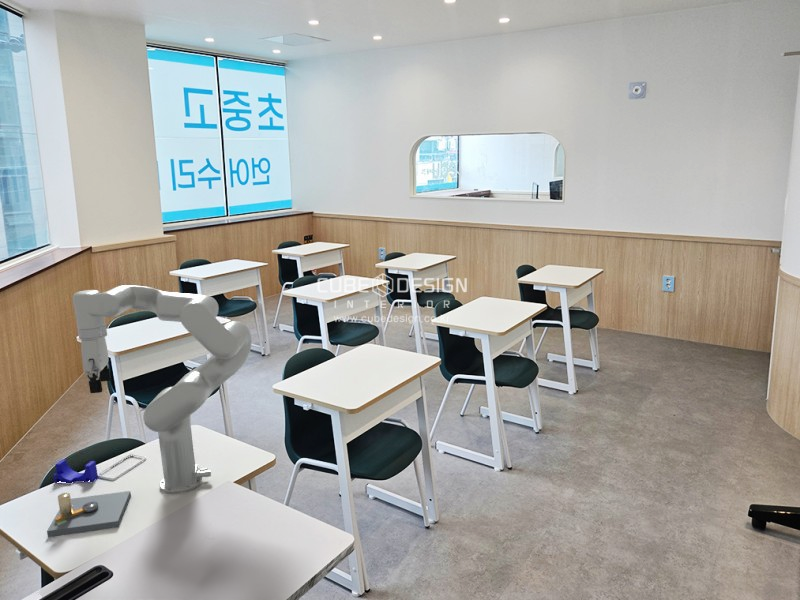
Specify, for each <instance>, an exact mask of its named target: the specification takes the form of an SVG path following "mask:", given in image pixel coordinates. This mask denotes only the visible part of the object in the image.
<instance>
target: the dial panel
mask: <svg viewBox="0 0 800 600" xmlns="http://www.w3.org/2000/svg"><path fill="white" fill-rule="evenodd" d="M131 498H132V493H131V490H127V491H119V492H112V493H111V492H110V493H103V494H98V495H88V496H81V497H74V498H71V504H72V509H73V511H76V510H78V509H81V508H82V507H83V505H85V504H86V503H89V502H97V503H98V509H97V510H96V511H94V512H92V513H84V512H83V513H80V514H77V515H74V516H72V517H69V518H66V519H63V520H61V521H58V522H56V521H55V518H56V517H59V516H61V513H60V509H59V510H58V512H57V513H56V515H55V517H54V518H53V519H52V521H51V524H50V525H49V527H48V528H47V530H46V534H47V538H55V537H61V536H68V535H69V536H70V535H75V534H83V533H89V532H95V531H96V532H97V531H105V530H111V529H117V528H120V526H121V523H122V520H123V519H124V516H125V514H126V511H127V508H128V505H129V503H130V500H131Z"/></svg>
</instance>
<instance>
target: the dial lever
mask: <svg viewBox="0 0 800 600" xmlns="http://www.w3.org/2000/svg"><path fill="white" fill-rule="evenodd" d="M71 499H72V498H71V493H70V492H63V493H61V494H59V495H58V496H57V502H58V506H59V508H58V509H59V510H60V513H61V516H59V517H56V518H55V517H54V518H55V521H56V522H58V521H61V520H63V519H66V518H69V517H72V516H74V515H77V514H80V513H83V512H84V513H92V512H94V511H96V510H97V509H98V503H97V502H89V503H86V504H85V505H83V507H82V508H81V509H78V510H76V511H73V509H72V504H71Z"/></svg>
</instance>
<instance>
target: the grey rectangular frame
mask: <svg viewBox="0 0 800 600" xmlns="http://www.w3.org/2000/svg"><path fill="white" fill-rule="evenodd" d="M131 455H132V456H133V455H134V456H135V457H141V458H142V459H141V460H139V461H137V462H135V464H132V465H131V466H130V467H128V468H127V469H125V470H123V471H122V472H120V473H119V474H117V475H115V476H114V477H111V476H106V475H102V473H104V472H106V471H107V470H109V469H113V468H114V467H115V466H114V465H116V464H118V463H119V462H121V461H122V460H124V459H126V458H127V459H129V458H130V457H129V456H131ZM128 457H129V458H128ZM146 458H147V456H146V455H140V454H134V453H130V454H127V455H125V457H122V458H121V459H119V460H118V461H116V462H114V463H113V464H111V465H110V466H108V467H106V468H104V469H103V470H102V471H100V472H97V474H98V477H99V479H102V478H103V479H102V480H107V479H108V481H115V480H118V479H119V478H120V477H122V476H123V475H125V474H126V472H127V473H128V472H130V471H131V470H133V469H134V468H136V467H137V466H139V465H140V464H142V463H143V462H142V461H144V460H145V459H146ZM127 459H126V460H127ZM146 460H147V459H146ZM146 460H145V461H146ZM124 461H125V460H124ZM145 461H144V462H145ZM122 462H123V461H122ZM122 462H121V463H122ZM141 462H142V463H141ZM139 463H140V464H139ZM119 464H120V463H119ZM119 464H118V465H119ZM138 464H139V465H138ZM113 466H114V467H113ZM116 466H117V465H116ZM135 466H136V467H135ZM112 467H113V468H112ZM132 468H133V469H132ZM129 470H130V471H129ZM118 477H119V478H118Z"/></svg>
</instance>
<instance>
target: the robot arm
mask: <svg viewBox="0 0 800 600" xmlns="http://www.w3.org/2000/svg"><path fill="white" fill-rule="evenodd" d="M72 303H73V308H74V309H73V310H74V316H75V322H76V327H77V329H76V330H77V334H78V340H80V343H81V344H80V347H81V348H80V350H81V359H82V360H81V361H82V370H83V372H84V373H85V374H87V381H88V385H89V386H88V387H89V392H90V394H99V393H102V392H103V382H110V381H111V379H112V377H111V372H110V365H109V361H110V360H109V352H108V351H109V350H108V346H107V340H106V337H107V336H108V331H107V324H106V318H115V317H118V316H119V315H121V314H123V313H124V312H126V311H128V310H139V311H145V312H152V313H154V314H155V315H156V316H157V319H159V320H160V321H162V322H163V321H164V322H173V323H174V322H175V323H181V325H182V326H183V327H184V328H185V330H187V332H188V333H189V334H190V336H192V337H193V338H194V339H195V340H196V341H197V342H199V344H200V345H202V347H204V349H206V350H207V352H208V353H210V354H211V356H210V357H209V358H207V359H206V360H205V361H204V362H202V363H201V364H199V365H198V366H197V367H195V368H194V369H192V370H191V371H189V372H188V373H186V374H184V376H182V378H180V380H179V381H177V382H176V384H175V385H173V386H169V387H166V388H164V389H162V390H161V391H160V392H159V393H158V394H157V395H156V396H155V397H154V398H153V400H151V402H150V403H149V404H148V405H147V406H146V408H145V409H144V411H143V417H142V418H143V424H145V426H146V428H147V429H149V431H152V432H156V433H158V442H159V450H160V458H161V463H162V464H161V465H162V466H161V467H162V472H163V473H162V474H163V478H162V479H161V481H160V482H159V489H160V491H161V492H163V493H165V494H172V495H175V494H176V495H177V494H184V493H186V492H190V491H192V490H194V489H196V488H197V487H198V486H199V485H200V484H201V483H202V481H203V478H208V477H211V476H212V471H211V470H209V469H208V467H205V468H204V467H203V468H200V467H199V465H198V464H197V463H196V460H195V459H196V458H195V452H194V451H195V450H194V443H193V434H192V427H191V426H192V424H191V415H192V414H194V413H195V412H197V410H198V409H200V408H201V407H202V406H203V405H204V403H205V402H206V401H207V400H208V399H209V397H210V396H211V394H212V393H214V391H215V390H216V389H217V388H219V387H221V385H223V384H224V383H225V382H226V381H227V380H229V379H230V378H231V377H233V376H234V375H235V374H236V373H237V372H238V371H239V370H241V368H242V367H243V366H244V365H245V363H246V361H247V360H248V357H249V355H250V353H251V349H252V335H251V334H252V333H251V332H250V329H249V327H248V326H247V325H246V324H245V323H244V322H242V321H238V320H232V321H229V322H226V323H224V324H222V323H221V322H220V321H219V320H218V319H217V317H218V314H219V309H220V307H219V304H218V302H217V300H216V299H215V298H214V297H213V296H210V295H207V294H197V293H185V292H184V293H181V292H173V291H170V292H169V291H165V290H164V291H163V290H160V289H157V288H153V287H150V286H141V285H131V284H129V285H127V284H125V285H118V286H115V287H113V288H111V289H109V290H106V291H104V292H100V291H99V290H96V289H86V290H80V291H77V292H75V293H74V294H73V295H72Z"/></svg>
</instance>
